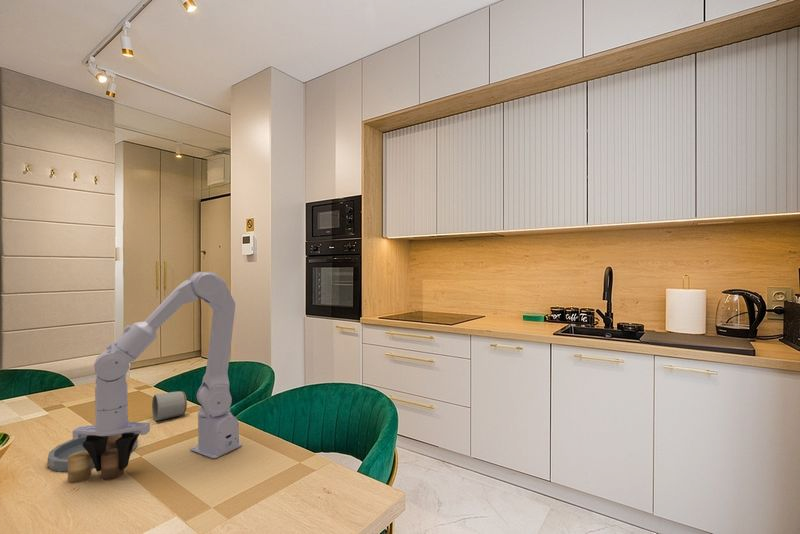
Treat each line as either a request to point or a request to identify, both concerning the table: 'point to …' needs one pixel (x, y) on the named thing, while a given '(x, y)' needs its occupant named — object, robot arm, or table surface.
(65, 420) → the table surface
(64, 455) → the tray
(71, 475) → the bead
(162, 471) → the table surface
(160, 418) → the ceramic mug
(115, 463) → the bead
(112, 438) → the bead
